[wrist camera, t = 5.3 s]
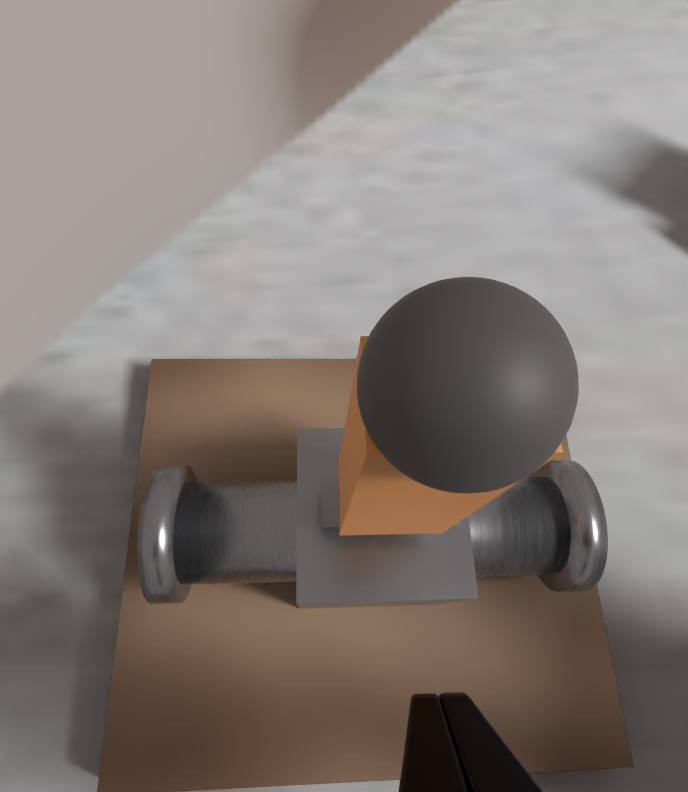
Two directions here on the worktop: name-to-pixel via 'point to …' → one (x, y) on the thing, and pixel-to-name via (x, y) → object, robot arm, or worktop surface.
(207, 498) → the valve
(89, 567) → the worktop surface
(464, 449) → the valve lever
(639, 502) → the worktop surface
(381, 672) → the valve board
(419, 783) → the robot arm
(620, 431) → the worktop surface
